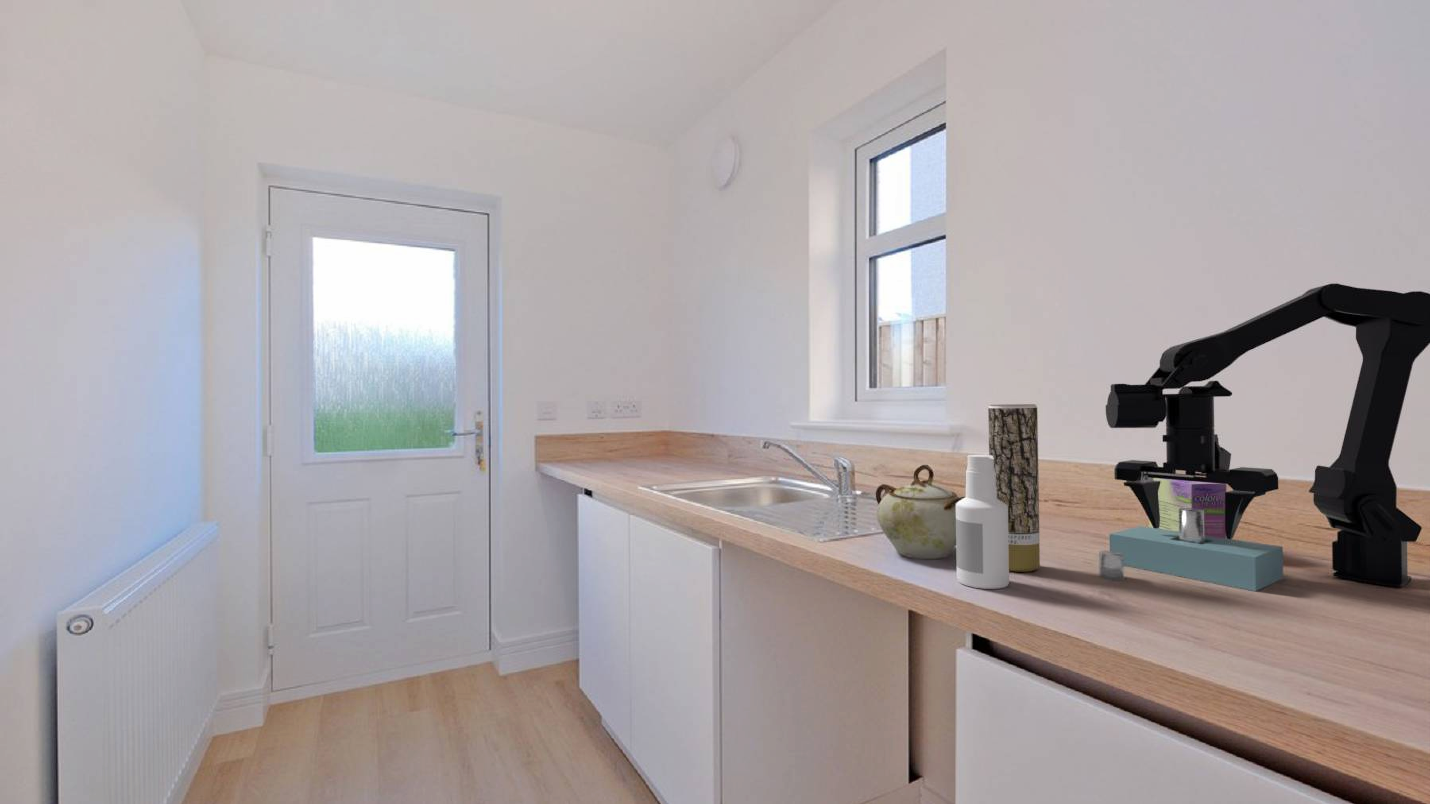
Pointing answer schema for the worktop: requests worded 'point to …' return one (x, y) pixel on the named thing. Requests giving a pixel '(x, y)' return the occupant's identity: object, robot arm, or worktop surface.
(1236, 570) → the hole beam
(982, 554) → the spray bottle
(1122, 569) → the short steel pin
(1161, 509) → the box
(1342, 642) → the worktop surface
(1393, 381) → the robot arm
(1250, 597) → the worktop surface
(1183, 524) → the tall steel pin
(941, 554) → the sugar bowl
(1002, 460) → the paper tube
